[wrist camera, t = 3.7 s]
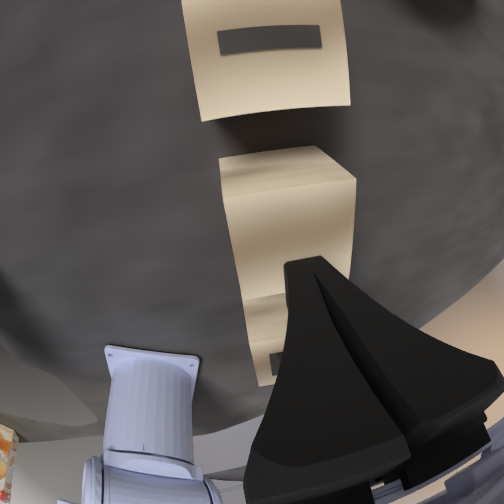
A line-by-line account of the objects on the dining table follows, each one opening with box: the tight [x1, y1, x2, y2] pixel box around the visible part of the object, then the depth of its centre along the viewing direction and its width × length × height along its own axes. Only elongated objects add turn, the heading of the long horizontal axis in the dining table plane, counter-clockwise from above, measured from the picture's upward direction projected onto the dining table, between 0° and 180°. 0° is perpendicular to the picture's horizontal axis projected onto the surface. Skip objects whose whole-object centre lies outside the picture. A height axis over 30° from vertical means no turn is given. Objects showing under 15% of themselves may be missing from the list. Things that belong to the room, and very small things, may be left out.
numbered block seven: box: [241, 293, 288, 387], centre depth 18 cm, size 5×5×5 cm
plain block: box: [219, 145, 356, 300], centre depth 14 cm, size 5×5×5 cm
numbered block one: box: [181, 0, 350, 121], centre depth 9 cm, size 5×5×5 cm
